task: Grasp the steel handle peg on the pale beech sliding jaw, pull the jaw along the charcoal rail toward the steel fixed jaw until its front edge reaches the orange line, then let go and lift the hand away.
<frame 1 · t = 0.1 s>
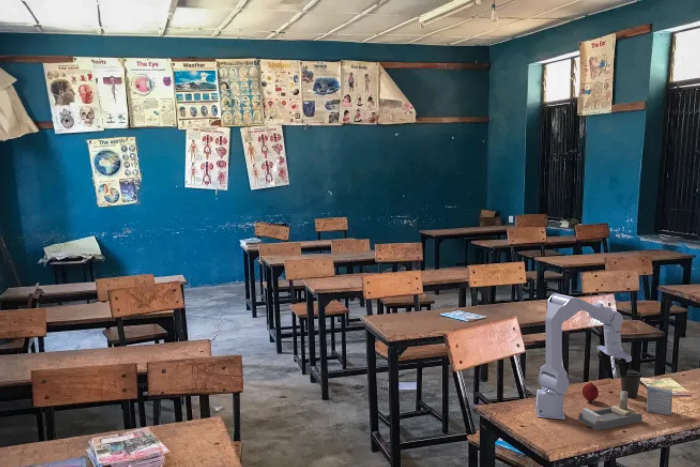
hand: (615, 373, 219), 11 cm above the table, tool pointing down, fingers open, 7 cm apart
rail base: (601, 422, 200), on the table
coffee cup: (629, 396, 224), on the table
onion: (589, 402, 218), on the table
medicine box: (658, 412, 209), on the table
sliding jaw: (623, 402, 203), point 6 cm above the table, slide at 0.0 cm
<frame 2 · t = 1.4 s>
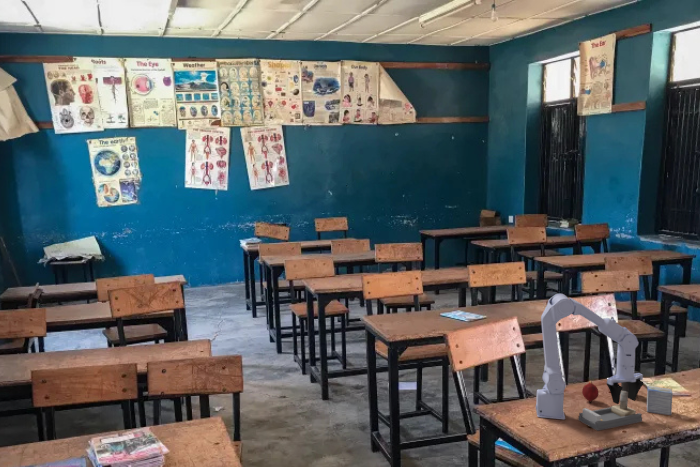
hand: (624, 401, 203), 6 cm above the table, tool pointing down, fingers open, 7 cm apart
nothing on the table moved.
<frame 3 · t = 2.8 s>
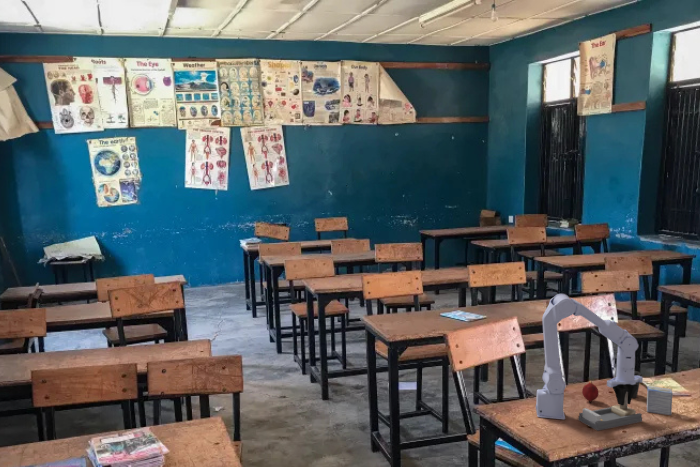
hand: (623, 403, 203), 5 cm above the table, tool pointing down, fingers closed on sliding jaw, 2 cm apart
sliding jaw: (623, 402, 203), point 6 cm above the table, slide at 0.0 cm, touching gripper
everything else where it was.
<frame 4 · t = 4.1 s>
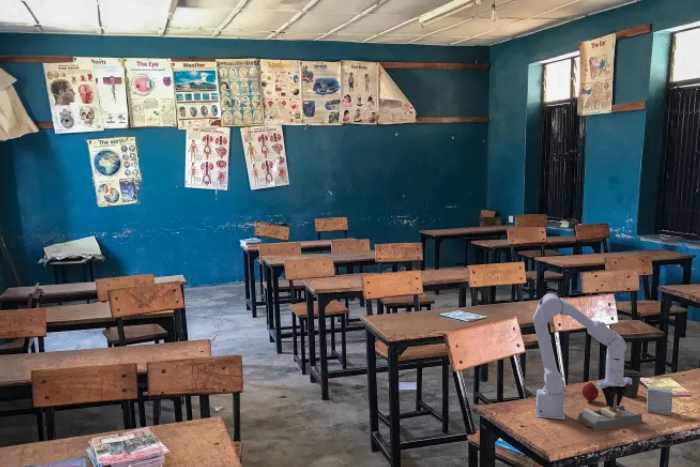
hand: (613, 405, 201), 5 cm above the table, tool pointing down, fingers closed on sliding jaw, 2 cm apart
sliding jaw: (613, 404, 201), point 6 cm above the table, slide at 4.9 cm, touching gripper
everything else where it was.
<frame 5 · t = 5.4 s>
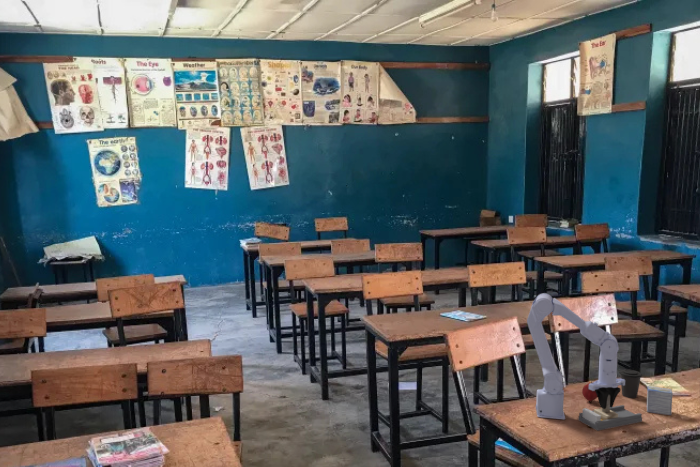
hand: (606, 407, 200), 5 cm above the table, tool pointing down, fingers closed on sliding jaw, 2 cm apart
sliding jaw: (606, 406, 200), point 6 cm above the table, slide at 8.0 cm, touching gripper
everything else where it was.
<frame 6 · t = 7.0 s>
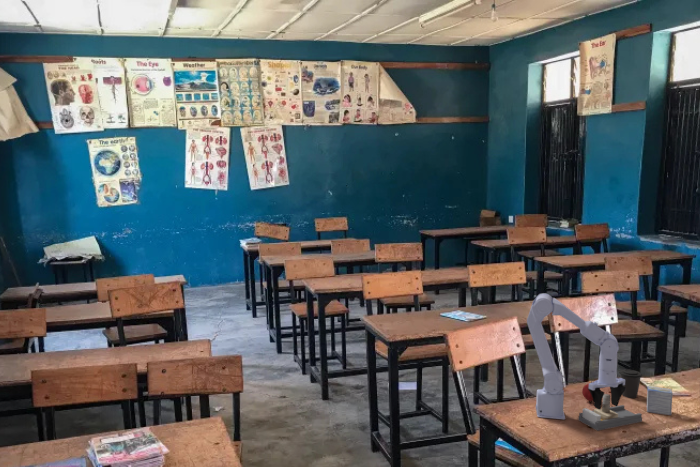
hand: (606, 406, 200), 6 cm above the table, tool pointing down, fingers open, 7 cm apart
sliding jaw: (606, 406, 200), point 6 cm above the table, slide at 8.1 cm
everything else where it was.
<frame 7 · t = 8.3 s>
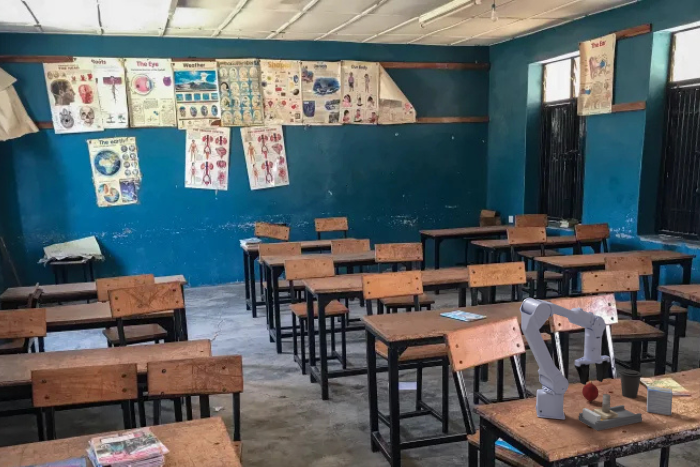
hand: (591, 382, 210), 10 cm above the table, tool pointing down, fingers open, 7 cm apart
nothing on the table moved.
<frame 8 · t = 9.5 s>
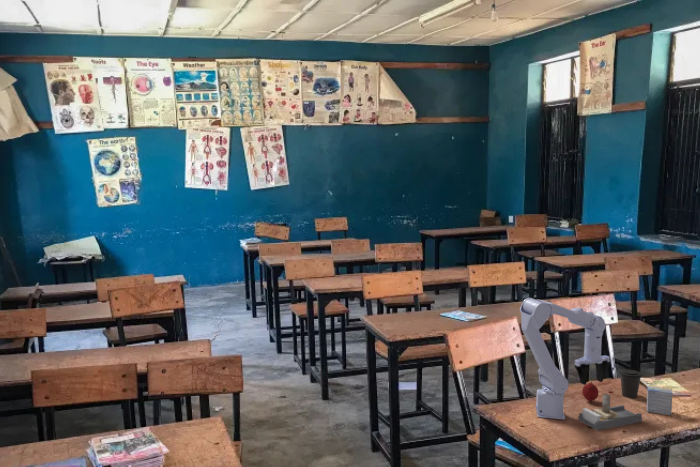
hand: (591, 382, 210), 10 cm above the table, tool pointing down, fingers open, 7 cm apart
nothing on the table moved.
at the end: sliding jaw slide at 8.1 cm; the gripper is holding nothing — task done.
